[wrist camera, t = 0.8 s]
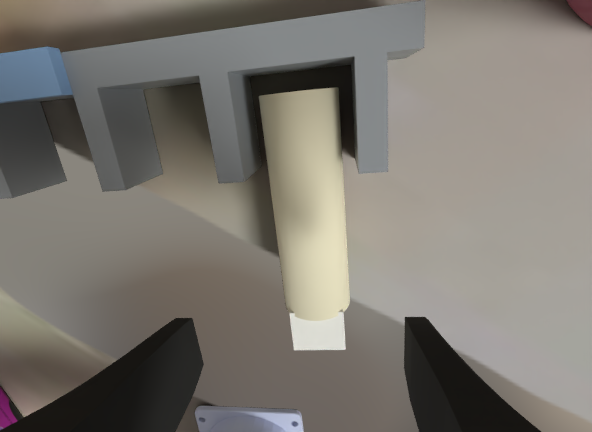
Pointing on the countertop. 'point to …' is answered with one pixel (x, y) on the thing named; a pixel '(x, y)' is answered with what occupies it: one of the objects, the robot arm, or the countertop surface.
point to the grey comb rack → (214, 84)
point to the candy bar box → (7, 411)
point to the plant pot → (582, 9)
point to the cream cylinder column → (309, 211)
